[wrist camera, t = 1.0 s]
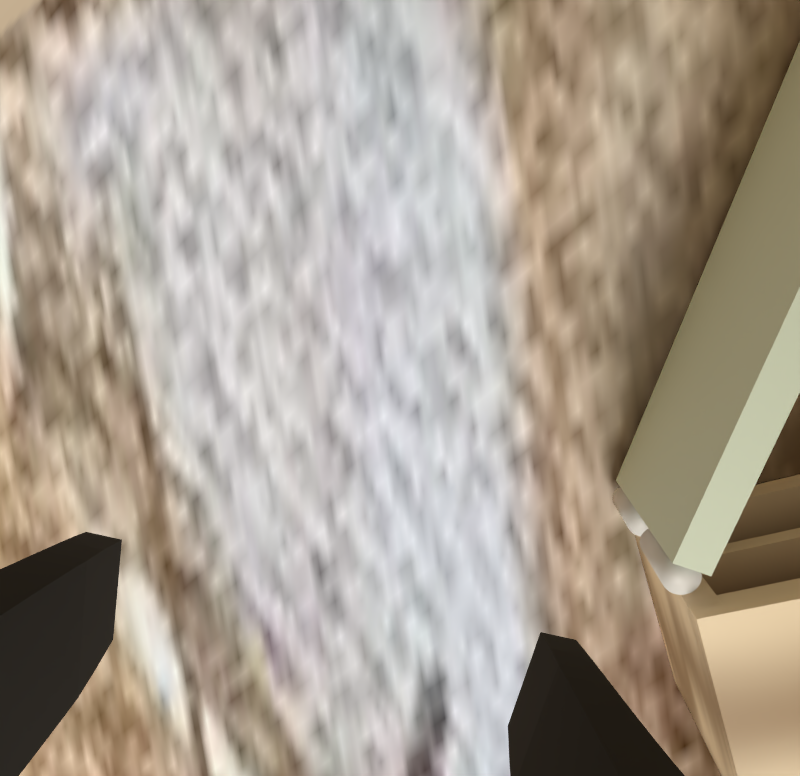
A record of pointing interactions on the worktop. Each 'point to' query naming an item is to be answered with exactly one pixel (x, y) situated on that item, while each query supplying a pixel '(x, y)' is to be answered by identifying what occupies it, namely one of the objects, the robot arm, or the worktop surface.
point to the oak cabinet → (743, 639)
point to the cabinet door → (724, 370)
